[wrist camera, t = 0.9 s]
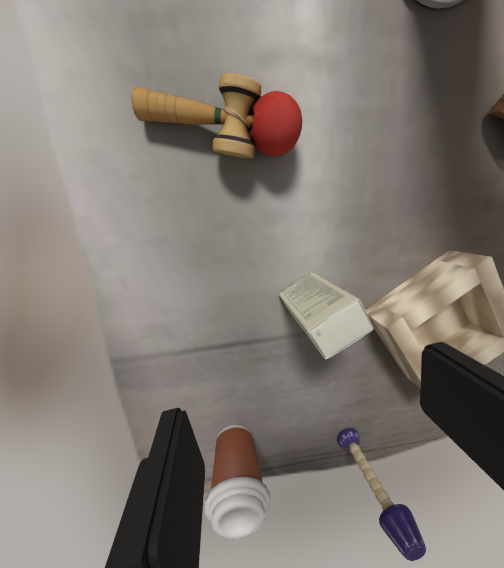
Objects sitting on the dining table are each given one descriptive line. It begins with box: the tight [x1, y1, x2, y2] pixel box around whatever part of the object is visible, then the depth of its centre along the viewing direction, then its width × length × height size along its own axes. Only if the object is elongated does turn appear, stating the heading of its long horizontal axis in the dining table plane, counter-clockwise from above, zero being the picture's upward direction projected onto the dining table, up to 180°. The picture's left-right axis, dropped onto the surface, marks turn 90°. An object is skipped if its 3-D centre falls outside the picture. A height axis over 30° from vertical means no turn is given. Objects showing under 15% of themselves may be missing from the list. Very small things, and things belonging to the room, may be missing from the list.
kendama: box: [131, 73, 302, 159], centre depth 26 cm, size 8×6×18 cm
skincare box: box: [279, 272, 373, 359], centre depth 30 cm, size 6×4×12 cm
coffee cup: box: [205, 424, 270, 539], centre depth 36 cm, size 9×9×12 cm
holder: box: [365, 250, 504, 389], centre depth 36 cm, size 16×16×6 cm
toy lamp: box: [337, 428, 426, 561], centre depth 37 cm, size 5×5×17 cm
